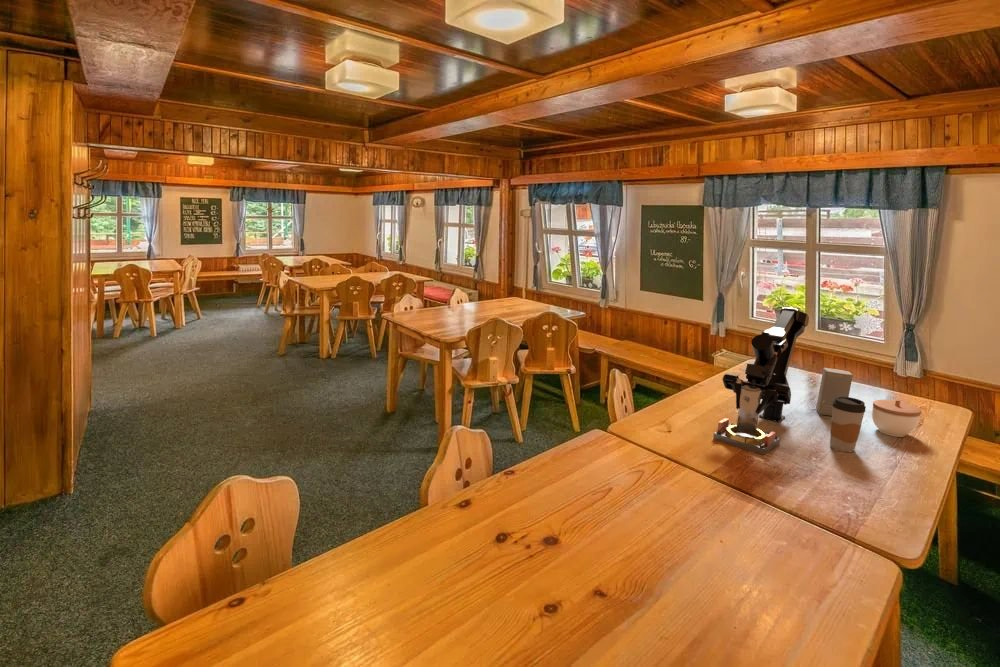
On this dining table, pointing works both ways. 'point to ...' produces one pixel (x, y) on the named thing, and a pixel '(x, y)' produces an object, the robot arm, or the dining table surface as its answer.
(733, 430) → the grey base with ring
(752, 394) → the spout can
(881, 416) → the lidded bowl
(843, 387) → the skincare box
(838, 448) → the coffee cup
